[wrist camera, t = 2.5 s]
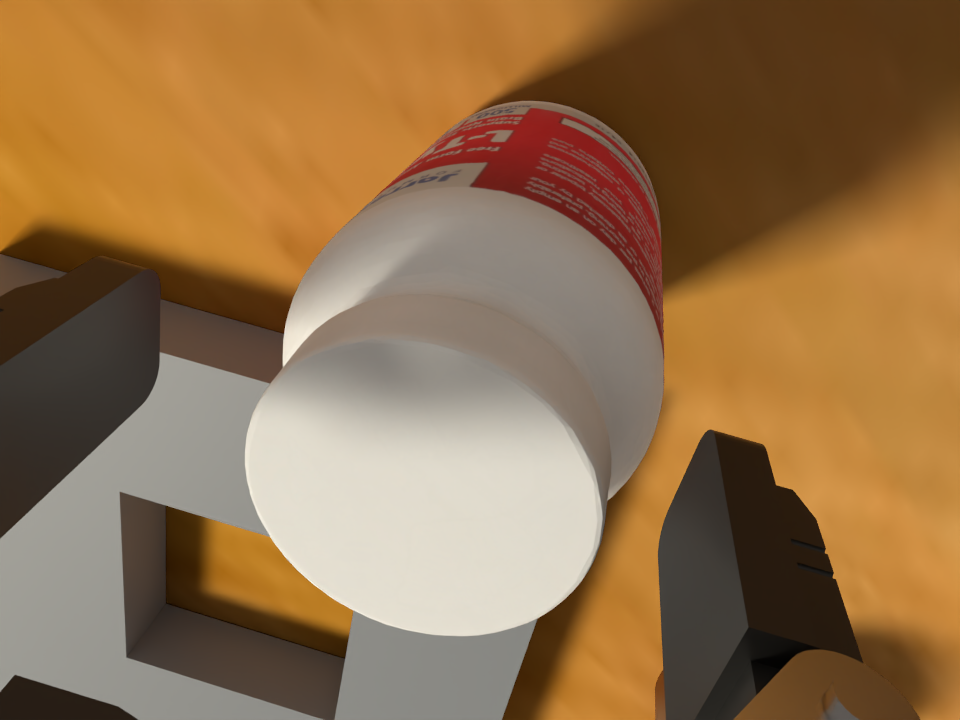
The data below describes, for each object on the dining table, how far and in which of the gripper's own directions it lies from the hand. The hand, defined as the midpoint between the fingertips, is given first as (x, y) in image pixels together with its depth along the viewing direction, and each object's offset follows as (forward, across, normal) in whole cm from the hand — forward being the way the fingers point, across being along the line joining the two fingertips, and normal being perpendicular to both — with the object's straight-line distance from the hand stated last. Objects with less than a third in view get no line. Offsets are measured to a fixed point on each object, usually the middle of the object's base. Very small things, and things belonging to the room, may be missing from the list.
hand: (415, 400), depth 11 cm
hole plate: (+9, +5, +14) cm, 18 cm away
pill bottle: (+9, -1, 0) cm, 9 cm away
